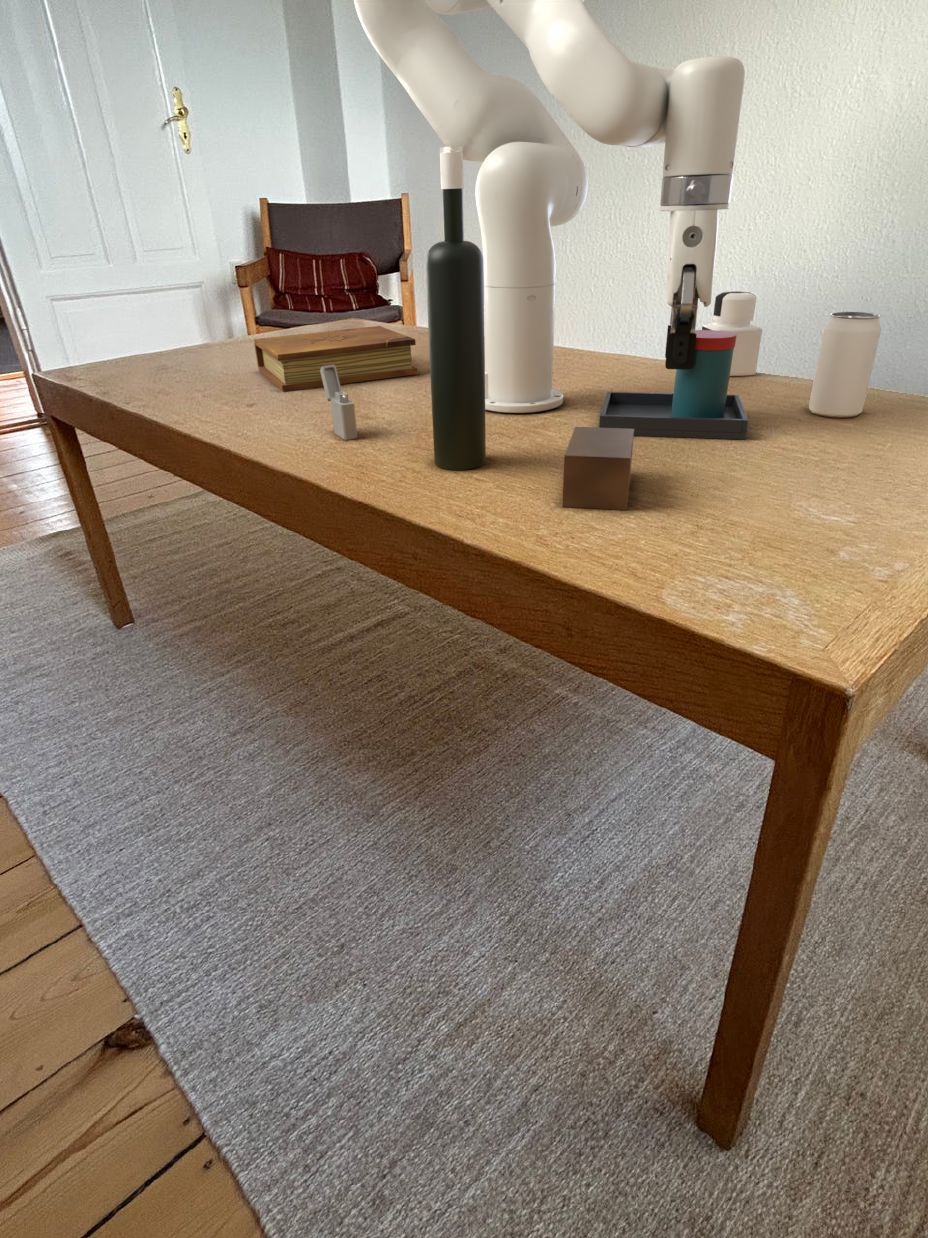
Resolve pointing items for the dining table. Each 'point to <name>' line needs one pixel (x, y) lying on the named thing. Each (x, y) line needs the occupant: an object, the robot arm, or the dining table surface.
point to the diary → (334, 356)
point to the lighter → (339, 404)
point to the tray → (669, 417)
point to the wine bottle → (456, 330)
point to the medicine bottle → (738, 329)
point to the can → (845, 364)
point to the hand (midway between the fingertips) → (678, 362)
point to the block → (598, 468)
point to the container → (705, 377)
